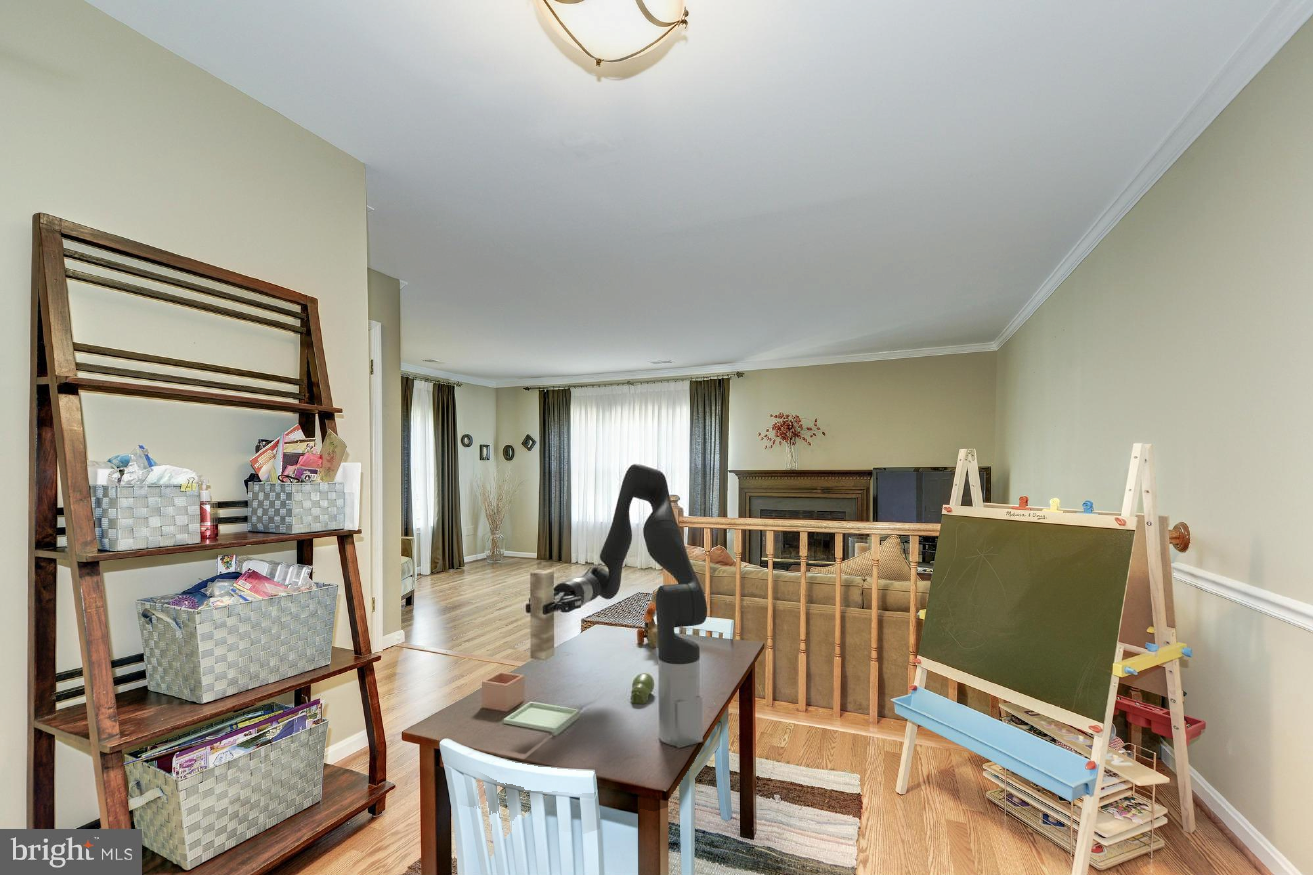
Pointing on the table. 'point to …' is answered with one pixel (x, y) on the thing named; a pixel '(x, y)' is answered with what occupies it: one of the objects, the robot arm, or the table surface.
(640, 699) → the pear
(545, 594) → the post
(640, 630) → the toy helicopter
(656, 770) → the table surface
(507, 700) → the salmon pink open box
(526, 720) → the tray
